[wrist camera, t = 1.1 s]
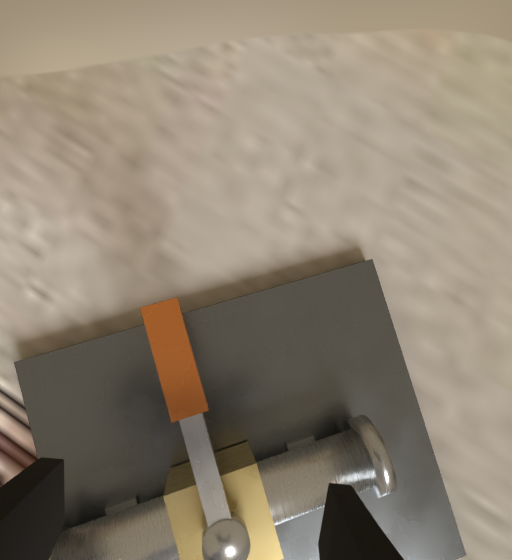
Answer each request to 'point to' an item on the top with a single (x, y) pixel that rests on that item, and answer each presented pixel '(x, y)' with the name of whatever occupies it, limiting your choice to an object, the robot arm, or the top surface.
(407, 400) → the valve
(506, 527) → the top surface
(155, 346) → the lever
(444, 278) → the top surface
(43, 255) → the top surface
